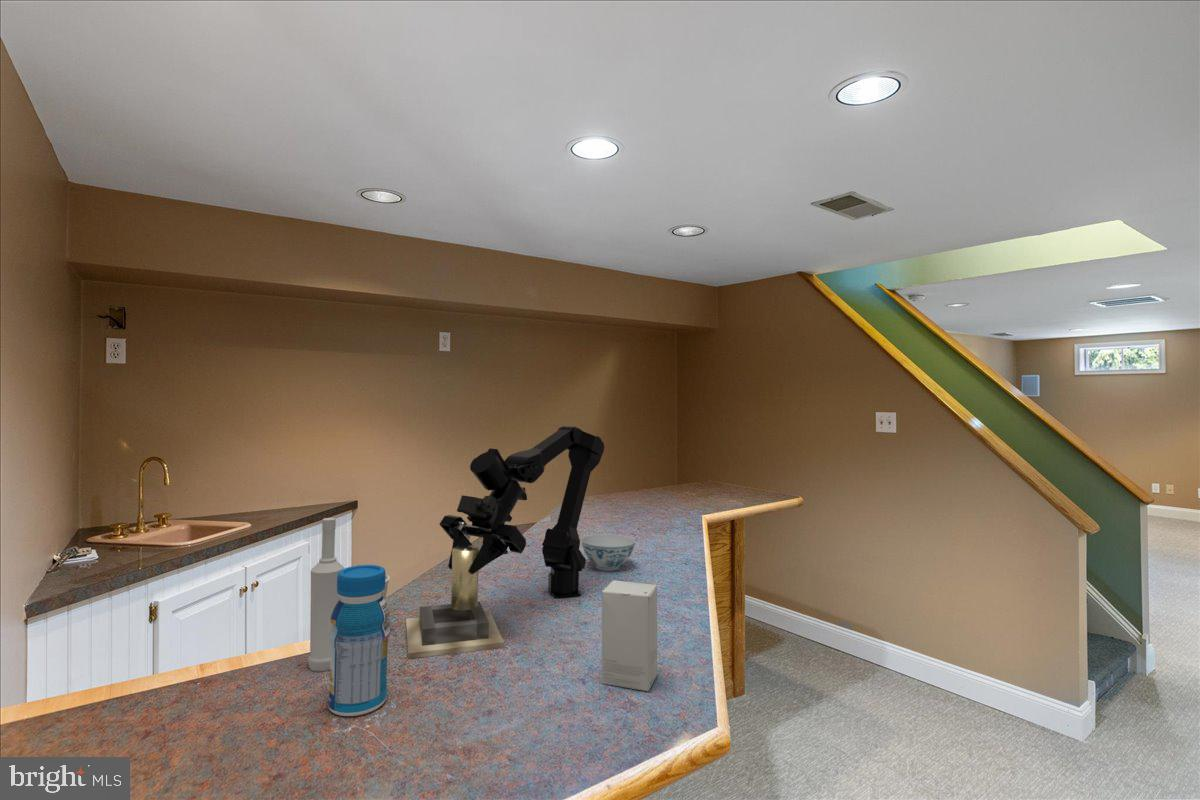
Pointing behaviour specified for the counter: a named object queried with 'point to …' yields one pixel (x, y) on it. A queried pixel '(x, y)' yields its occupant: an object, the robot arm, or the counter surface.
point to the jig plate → (450, 646)
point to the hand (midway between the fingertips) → (460, 570)
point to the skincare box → (629, 635)
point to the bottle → (323, 599)
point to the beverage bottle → (359, 642)
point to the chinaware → (608, 550)
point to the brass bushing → (464, 578)
